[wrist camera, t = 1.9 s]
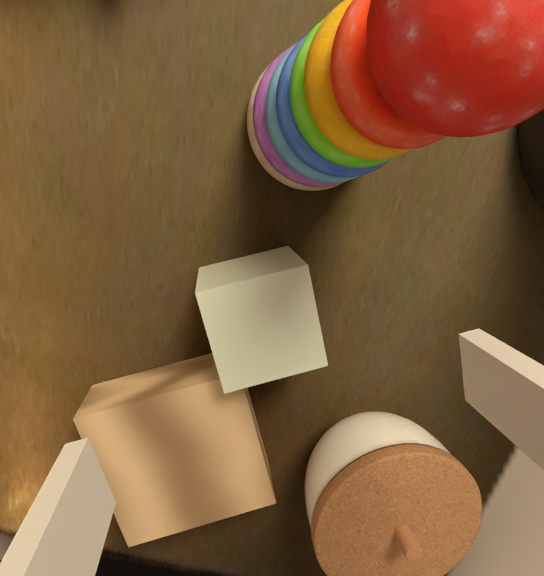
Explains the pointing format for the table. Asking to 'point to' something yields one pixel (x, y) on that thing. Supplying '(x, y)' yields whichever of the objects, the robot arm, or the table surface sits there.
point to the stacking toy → (394, 84)
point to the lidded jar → (388, 500)
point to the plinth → (176, 448)
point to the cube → (260, 318)
